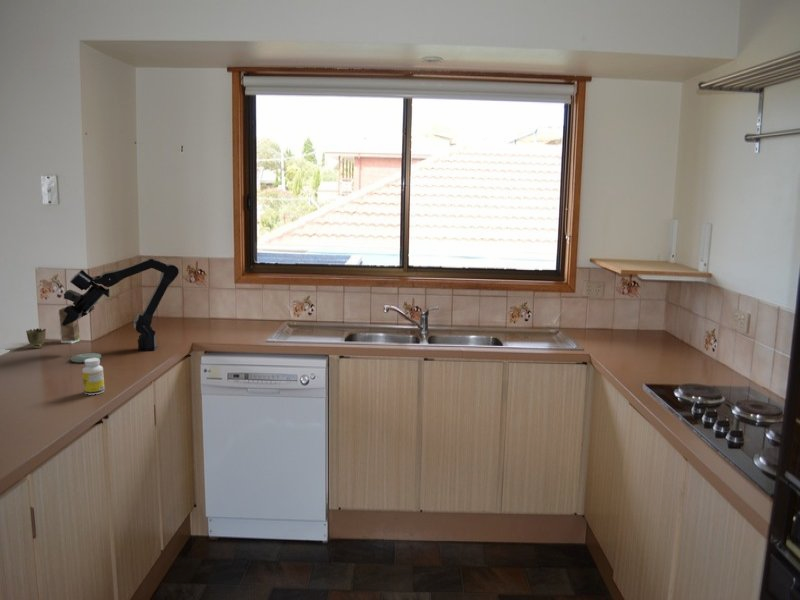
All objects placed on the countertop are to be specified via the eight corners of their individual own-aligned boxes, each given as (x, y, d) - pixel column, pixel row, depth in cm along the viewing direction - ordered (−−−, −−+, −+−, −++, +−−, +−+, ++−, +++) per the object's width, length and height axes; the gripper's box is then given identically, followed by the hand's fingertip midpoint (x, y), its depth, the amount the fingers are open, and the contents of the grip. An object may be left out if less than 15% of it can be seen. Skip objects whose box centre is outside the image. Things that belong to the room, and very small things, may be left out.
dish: (105, 356, 275) (104, 352, 275) (95, 363, 265) (95, 359, 264) (77, 356, 274) (77, 353, 274) (67, 363, 264) (66, 360, 263)
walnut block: (79, 337, 279) (76, 307, 276) (74, 340, 274) (71, 309, 272) (67, 337, 279) (63, 307, 276) (62, 340, 274) (58, 310, 271)
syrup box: (72, 343, 296) (69, 311, 293) (60, 343, 297) (57, 311, 294) (80, 340, 301) (78, 309, 299) (69, 340, 302) (66, 308, 300)
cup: (51, 346, 290) (49, 328, 289) (37, 350, 284) (35, 332, 282) (38, 345, 293) (36, 327, 291) (23, 349, 286) (22, 330, 285)
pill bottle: (88, 389, 231) (85, 357, 229) (107, 389, 232) (105, 357, 230) (81, 395, 225) (78, 362, 223) (100, 395, 225) (98, 362, 223)
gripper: (84, 280, 282) (59, 306, 283) (66, 286, 263) (40, 314, 264) (104, 298, 284) (80, 323, 285) (89, 306, 266) (62, 333, 266)
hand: (65, 323), depth 275 cm, fingers closed on walnut block, 5 cm apart
